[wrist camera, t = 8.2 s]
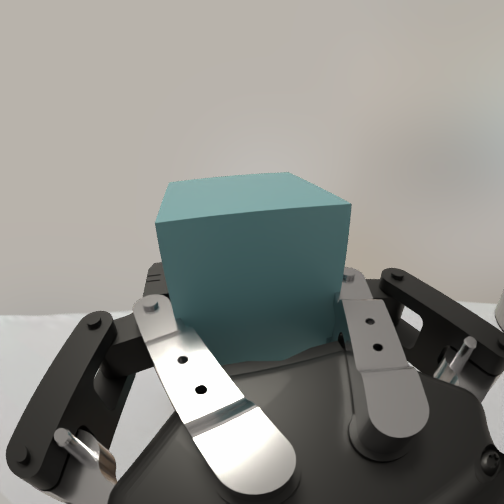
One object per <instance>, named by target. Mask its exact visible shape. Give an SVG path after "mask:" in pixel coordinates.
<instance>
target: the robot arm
mask: <svg viewBox="0 0 504 504" xmlns="http://www.w3.org/2000/svg"><path fill="white" fill-rule="evenodd" d="M404 306H406V307H408V308H409V309H411V310H412V311H414V312H415V313H417V314H418V315H420V317H421V318H422V320H423V326H422V329H421V331H418V330H417V329H415V328H414V327H413V326H411V325H410V324H408V323H407V322H406V321H404V320H403V319H401V315H402V312H403V309H404ZM333 308H334V314H335V324H334V330H333V334H332V337H329V338H327V339H326V344H323V345H319V346H315V347H311V348H309V349H307V350H304V351H302V352H300V353H298V354H296V355H294V356H292V357H290V358H288V359H285V360H282V361H245V362H239V363H233V364H226V365H219V364H218V362H217V361H216V359H215V358H214V357H213V355H212V354H211V353H210V351H209V350H208V348H207V347H206V346H205V344H204V343H203V341H202V340H201V339H200V337H199V336H198V334H197V333H196V331H195V330H194V329H193V327H192V326H188V327H186V326H185V325H184V323H183V321H182V320H181V318H177V319H175V317H174V313H173V309H172V305H171V301H170V297H169V292H168V288H167V283H166V279H165V274H164V269H163V264H162V262H160V263H154V264H153V265H152V267H150V268H149V270H148V274H147V279H146V284H145V289H144V293H143V298H141V299H139V300H138V301H136V303H135V304H134V305H133V313H132V314H130V315H127V316H125V317H122V318H119V319H115V320H113V318H112V316H111V314H110V313H108V312H105V311H96V312H92V313H90V314H88V315H86V316H85V317H84V318H82V319H81V321H80V322H79V323H78V325H77V326H76V328H75V329H74V331H73V332H72V333H71V335H70V336H69V338H68V339H67V341H66V342H65V344H64V345H63V347H62V348H61V350H60V351H59V353H58V354H57V356H56V358H55V359H54V361H53V362H52V364H51V366H50V367H49V369H48V370H47V372H46V374H45V375H44V377H43V379H42V380H41V382H40V384H39V385H38V387H37V389H36V391H35V392H34V394H33V396H32V398H31V400H30V401H29V403H28V405H27V407H26V409H25V411H24V413H23V415H22V417H21V419H20V421H19V423H18V425H17V427H16V429H15V431H14V433H13V435H12V437H11V439H10V441H9V444H8V446H7V449H6V460H7V464H8V466H9V468H10V470H11V471H12V472H13V473H14V474H15V475H16V476H18V477H20V478H21V479H23V480H24V481H26V482H27V483H29V484H31V485H32V486H33V487H34V488H36V489H37V490H39V491H41V492H43V493H45V494H46V495H48V496H50V497H52V498H54V499H56V500H58V501H61V502H64V503H67V504H504V454H503V453H501V452H500V451H499V450H498V449H497V448H496V447H495V445H494V443H493V441H492V438H491V436H490V433H489V430H488V426H487V422H486V416H485V412H484V409H483V406H482V404H481V402H482V401H483V399H484V397H485V396H486V394H487V392H488V391H489V390H490V389H491V387H492V386H493V385H494V383H495V382H496V381H497V379H498V378H499V377H500V375H501V374H502V372H503V371H504V333H503V332H501V331H500V330H498V329H497V328H496V327H494V326H493V325H491V324H490V323H488V322H487V321H485V320H484V319H482V318H481V317H479V316H478V315H476V314H474V313H473V312H471V311H470V310H468V309H467V308H465V307H464V306H462V305H460V304H459V303H457V302H456V301H454V300H452V299H451V298H449V297H448V296H446V295H444V294H443V293H441V292H439V291H438V290H436V289H434V288H433V287H431V286H429V285H428V284H426V283H424V282H422V281H421V280H419V279H417V278H416V277H414V276H412V275H410V274H409V273H407V272H405V271H403V270H401V269H396V268H388V269H385V270H383V271H382V274H381V278H380V279H365V277H364V275H363V274H362V273H361V272H360V271H358V270H356V269H353V268H348V267H344V273H343V280H342V286H341V291H340V292H336V293H335V294H334V300H333ZM495 316H496V319H497V321H498V323H499V325H500V326H501V328H502V329H503V330H504V290H503V293H502V295H501V298H500V300H499V302H498V304H497V307H496V310H495ZM407 361H408V362H409V363H411V364H412V365H413V366H414V367H416V368H417V369H418V370H419V371H420V372H419V371H417V370H416V369H415V368H414V367H411V366H409V364H408V362H407ZM151 367H154V368H155V371H156V373H157V375H158V377H159V379H160V381H161V384H162V386H163V388H164V390H165V392H166V394H167V396H168V398H169V400H170V402H171V404H172V406H173V408H174V410H175V411H174V412H173V414H172V415H171V416H170V418H169V419H168V420H167V421H166V423H165V424H164V425H163V427H162V428H161V429H160V430H159V432H158V433H157V434H156V435H155V437H154V438H153V439H152V440H151V442H150V443H149V444H148V445H147V447H146V448H145V449H144V450H143V452H142V453H141V454H140V455H139V457H138V458H137V459H136V460H135V462H134V463H133V464H132V465H131V466H130V468H129V469H128V470H127V471H126V472H125V474H124V475H123V476H122V477H121V478H120V480H119V481H118V482H117V480H116V475H115V472H116V462H115V459H114V457H113V455H112V454H111V452H110V451H109V448H110V445H111V442H112V439H113V436H114V433H115V430H116V427H117V424H118V422H119V419H120V416H121V413H122V410H123V408H124V405H125V402H126V399H127V397H128V394H129V391H130V389H131V386H132V383H133V381H134V378H135V375H136V373H137V372H140V371H142V370H145V369H148V368H151ZM98 369H99V370H98ZM97 371H98V372H97ZM96 373H97V374H96ZM95 375H96V376H95ZM94 377H95V378H94Z"/></svg>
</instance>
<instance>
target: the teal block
mask: <svg viewBox="0 0 504 504" xmlns="http://www.w3.org/2000/svg"><path fill="white" fill-rule="evenodd" d="M350 215H351V203H349V202H347V201H345V200H343V199H341V198H340V197H337V196H336V195H334V194H332V193H330V192H328V191H326V190H324V189H322V188H320V187H318V186H316V185H314V184H312V183H310V182H308V181H306V180H304V179H301V178H300V177H297V176H295V175H293V174H291V173H289V172H284V173H264V174H249V175H235V176H225V177H213V178H204V179H194V180H185V181H177V182H170V183H169V184H168V187H167V190H166V193H165V196H164V198H163V201H162V204H161V207H160V210H159V213H158V216H157V219H156V222H155V226H156V232H157V238H158V243H159V249H160V254H161V259H162V264H163V269H164V274H165V279H166V283H167V288H168V292H169V297H170V301H171V305H172V309H173V313H174V317H175V319H177V318H181V320H182V321H183V323H184V325H185V326H186V327H188V326H192V327H193V329H194V330H195V331H196V333H197V334H198V336H199V337H200V339H201V340H202V341H203V343H204V344H205V346H206V347H207V348H208V350H209V351H210V353H211V354H212V355H213V357H214V358H215V359H216V361H217V362H218V364H219V365H226V364H233V363H239V362H245V361H282V360H285V359H288V358H290V357H292V356H294V355H296V354H298V353H300V352H302V351H304V350H307V349H309V348H311V347H315V346H319V345H323V344H326V339H327V338H329V337H332V334H333V330H334V324H335V314H334V308H333V300H334V294H335V293H336V292H340V291H341V286H342V280H343V273H344V265H345V259H346V251H347V243H348V235H349V225H350Z"/></svg>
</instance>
